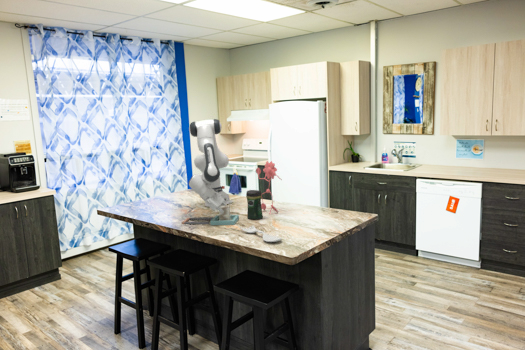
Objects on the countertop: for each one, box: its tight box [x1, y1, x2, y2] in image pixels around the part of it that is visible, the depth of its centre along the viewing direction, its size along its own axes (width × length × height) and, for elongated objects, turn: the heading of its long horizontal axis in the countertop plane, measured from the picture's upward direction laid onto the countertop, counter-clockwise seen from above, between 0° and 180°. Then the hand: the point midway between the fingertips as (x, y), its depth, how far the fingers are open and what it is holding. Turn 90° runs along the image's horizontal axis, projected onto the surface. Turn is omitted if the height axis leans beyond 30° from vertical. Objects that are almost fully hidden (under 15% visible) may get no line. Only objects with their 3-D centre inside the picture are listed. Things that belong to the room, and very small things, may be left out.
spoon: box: [239, 224, 283, 243], centre depth 224 cm, size 9×32×4 cm, turn 33°
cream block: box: [218, 205, 232, 221], centre depth 260 cm, size 6×5×10 cm
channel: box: [181, 216, 215, 225], centre depth 263 cm, size 18×12×2 cm
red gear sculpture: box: [255, 160, 282, 215], centre depth 279 cm, size 15×26×35 cm, turn 42°
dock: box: [209, 214, 240, 226], centre depth 260 cm, size 15×15×2 cm
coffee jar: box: [245, 189, 264, 220], centre depth 264 cm, size 10×8×19 cm
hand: (225, 210), depth 259 cm, fingers open, 8 cm apart
